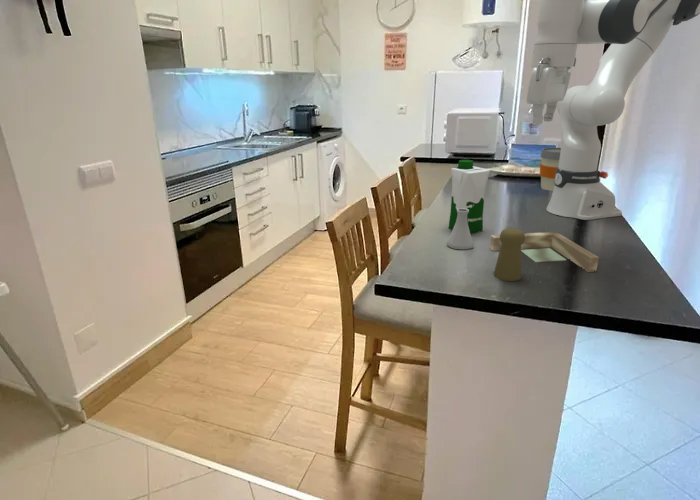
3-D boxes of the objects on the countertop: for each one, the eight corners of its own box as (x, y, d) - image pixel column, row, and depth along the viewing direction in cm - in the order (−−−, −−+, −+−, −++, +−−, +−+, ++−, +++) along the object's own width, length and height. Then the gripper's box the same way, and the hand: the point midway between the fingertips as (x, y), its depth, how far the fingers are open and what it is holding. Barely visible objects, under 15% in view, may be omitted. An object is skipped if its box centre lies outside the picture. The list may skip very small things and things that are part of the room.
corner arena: (553, 244, 120) (555, 231, 119) (596, 271, 103) (598, 257, 102) (489, 247, 118) (490, 235, 117) (521, 276, 101) (524, 262, 100)
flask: (443, 241, 123) (445, 206, 119) (468, 240, 124) (471, 205, 120) (450, 251, 116) (453, 214, 113) (477, 249, 117) (481, 213, 113)
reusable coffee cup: (572, 186, 179) (579, 148, 173) (567, 193, 169) (574, 153, 163) (539, 183, 185) (544, 146, 180) (533, 189, 175) (538, 151, 170)
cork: (523, 282, 99) (530, 235, 95) (494, 280, 100) (500, 233, 96) (519, 270, 104) (525, 226, 100) (492, 269, 105) (497, 224, 101)
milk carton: (466, 223, 137) (472, 158, 130) (487, 231, 130) (494, 162, 122) (443, 228, 134) (448, 160, 126) (464, 236, 126) (470, 166, 119)
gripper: (556, 57, 91) (544, 127, 96) (577, 60, 106) (566, 120, 111) (524, 57, 94) (515, 125, 99) (549, 60, 109) (540, 118, 114)
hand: (542, 122), depth 105 cm, fingers open, 8 cm apart
